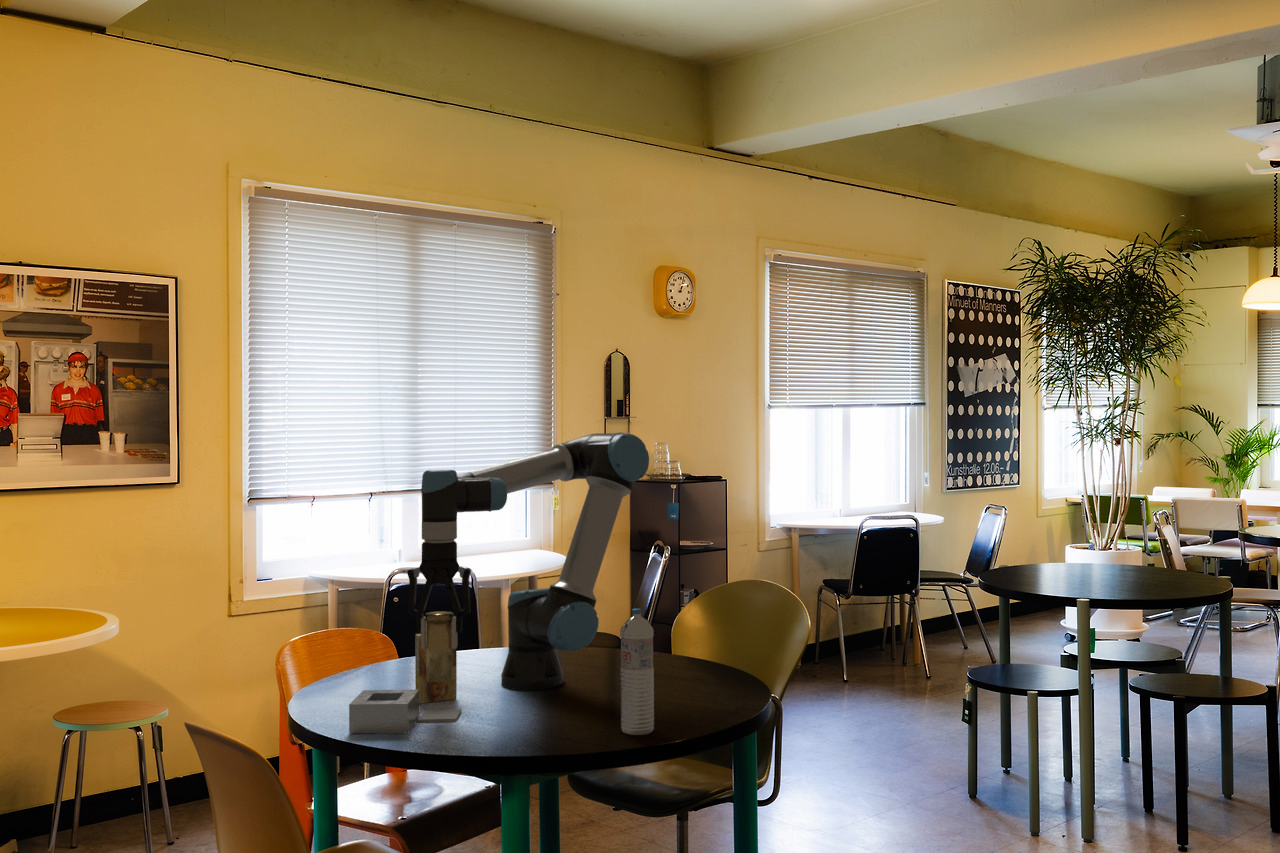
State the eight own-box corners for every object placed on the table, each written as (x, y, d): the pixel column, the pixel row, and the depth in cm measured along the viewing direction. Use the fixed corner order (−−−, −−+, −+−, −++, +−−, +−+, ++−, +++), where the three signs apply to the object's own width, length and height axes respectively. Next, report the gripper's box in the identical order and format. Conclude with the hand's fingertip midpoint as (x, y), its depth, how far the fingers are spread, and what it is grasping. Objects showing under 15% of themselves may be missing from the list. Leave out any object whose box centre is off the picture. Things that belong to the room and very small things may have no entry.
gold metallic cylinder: (455, 676, 225) (455, 611, 225) (451, 682, 219) (451, 615, 219) (428, 676, 225) (428, 611, 225) (422, 682, 219) (422, 616, 219)
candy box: (452, 695, 240) (452, 630, 241) (457, 699, 237) (457, 633, 237) (414, 700, 237) (414, 633, 237) (419, 704, 233) (419, 636, 233)
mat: (461, 711, 226) (461, 709, 226) (455, 721, 218) (455, 719, 218) (425, 712, 226) (425, 709, 226) (418, 722, 218) (418, 719, 218)
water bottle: (619, 727, 213) (619, 606, 213) (652, 726, 213) (651, 606, 214) (622, 736, 206) (621, 612, 206) (655, 735, 207) (654, 611, 207)
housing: (419, 717, 222) (419, 689, 222) (408, 733, 210) (408, 703, 210) (363, 718, 221) (363, 690, 221) (349, 733, 209) (349, 704, 209)
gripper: (485, 539, 226) (485, 643, 226) (399, 539, 226) (399, 644, 225) (480, 542, 219) (481, 650, 218) (391, 542, 218) (391, 651, 218)
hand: (439, 647), depth 222 cm, fingers closed on gold metallic cylinder, 6 cm apart
